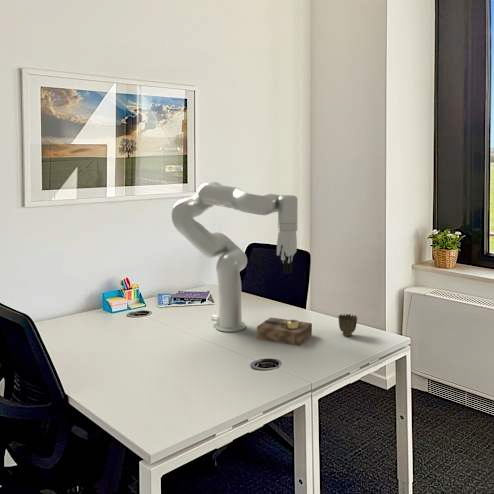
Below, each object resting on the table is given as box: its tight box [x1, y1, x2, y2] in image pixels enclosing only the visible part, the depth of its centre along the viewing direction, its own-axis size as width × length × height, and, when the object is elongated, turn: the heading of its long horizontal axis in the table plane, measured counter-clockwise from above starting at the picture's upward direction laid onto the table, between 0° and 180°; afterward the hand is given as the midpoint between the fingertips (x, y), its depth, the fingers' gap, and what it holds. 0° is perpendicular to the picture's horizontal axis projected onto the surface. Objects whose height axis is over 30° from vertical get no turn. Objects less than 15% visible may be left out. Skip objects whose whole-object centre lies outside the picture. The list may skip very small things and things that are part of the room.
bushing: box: [287, 319, 299, 328], centre depth 220 cm, size 4×4×7 cm
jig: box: [256, 317, 313, 346], centre depth 222 cm, size 18×13×6 cm
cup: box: [337, 313, 358, 338], centre depth 222 cm, size 8×7×8 cm
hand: (287, 272), depth 223 cm, fingers closed
